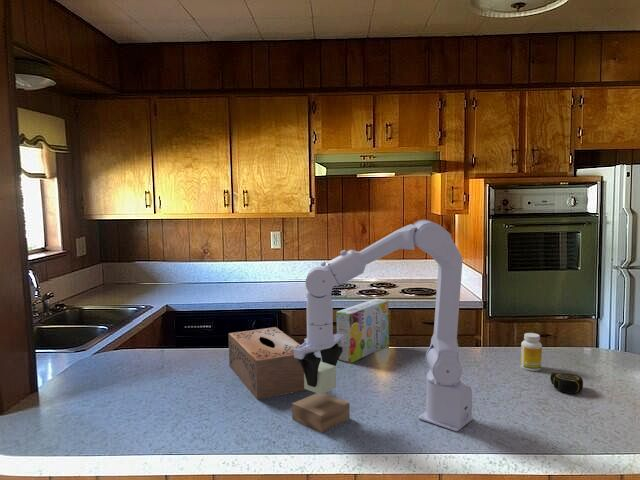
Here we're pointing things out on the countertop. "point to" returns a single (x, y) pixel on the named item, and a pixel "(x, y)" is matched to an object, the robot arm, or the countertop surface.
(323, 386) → the sage cube
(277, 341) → the tissue box cover
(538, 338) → the supplement bottle
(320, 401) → the walnut block
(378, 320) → the snack box
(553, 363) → the countertop surface
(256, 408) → the countertop surface
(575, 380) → the tape measure
